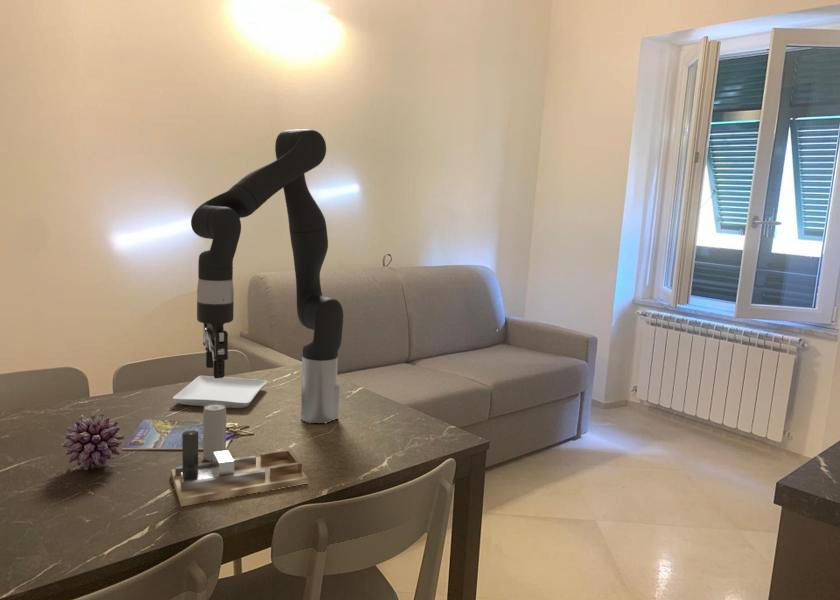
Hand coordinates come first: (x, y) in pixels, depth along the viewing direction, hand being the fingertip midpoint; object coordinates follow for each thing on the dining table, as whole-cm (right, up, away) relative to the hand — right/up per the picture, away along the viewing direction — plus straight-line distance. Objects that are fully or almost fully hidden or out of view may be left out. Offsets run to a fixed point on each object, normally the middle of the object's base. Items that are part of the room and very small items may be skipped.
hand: (214, 372), depth 140 cm
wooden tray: (+7, -22, -7) cm, 24 cm away
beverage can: (-1, -20, +3) cm, 20 cm away
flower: (-24, -20, -5) cm, 32 cm away
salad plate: (-12, -13, +43) cm, 47 cm away
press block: (+2, -20, -10) cm, 23 cm away
